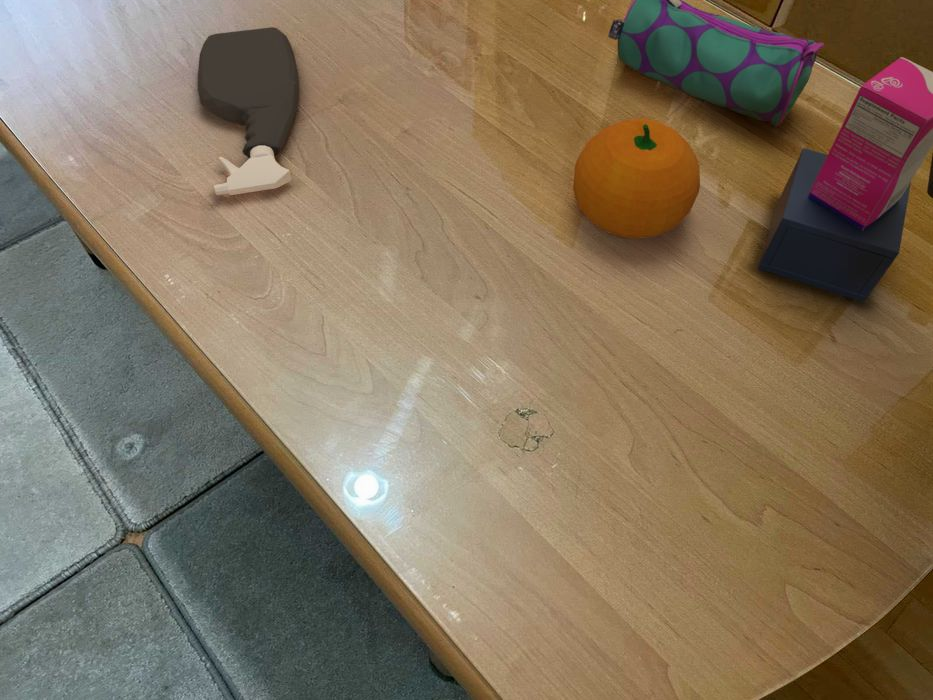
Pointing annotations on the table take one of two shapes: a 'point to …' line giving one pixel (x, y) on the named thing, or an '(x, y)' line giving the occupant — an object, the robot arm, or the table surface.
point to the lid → (827, 224)
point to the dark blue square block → (820, 258)
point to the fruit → (636, 178)
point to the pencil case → (715, 57)
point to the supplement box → (878, 145)
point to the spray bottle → (251, 100)
